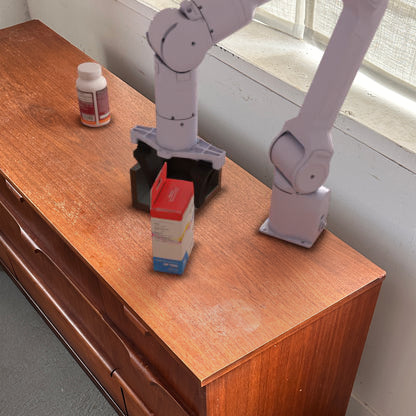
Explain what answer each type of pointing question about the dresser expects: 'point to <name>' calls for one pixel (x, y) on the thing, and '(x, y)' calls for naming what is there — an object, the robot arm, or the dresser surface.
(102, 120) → the pill bottle
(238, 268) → the dresser surface
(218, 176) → the box
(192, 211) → the ink box
